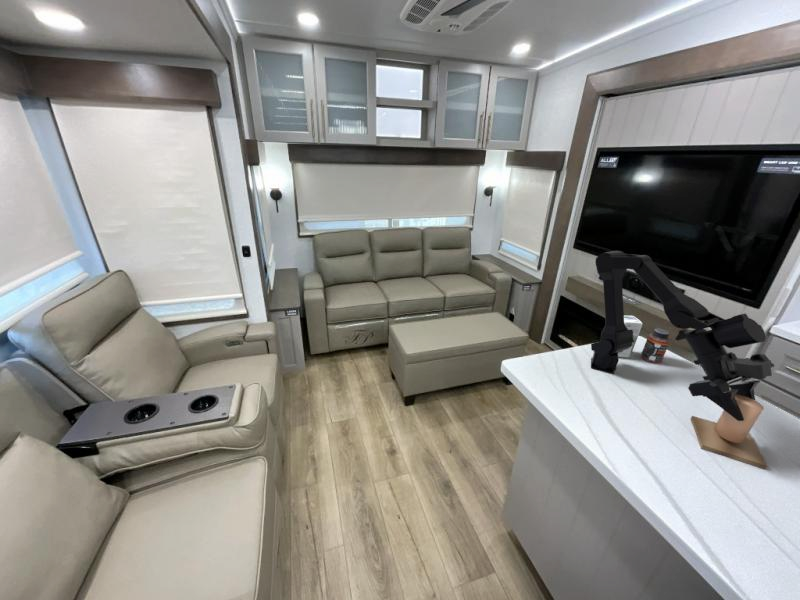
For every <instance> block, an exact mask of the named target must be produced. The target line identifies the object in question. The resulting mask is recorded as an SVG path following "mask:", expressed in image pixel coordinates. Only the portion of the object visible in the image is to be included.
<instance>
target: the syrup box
mask: <svg viewBox="0 0 800 600" xmlns="http://www.w3.org/2000/svg"><path fill="white" fill-rule="evenodd" d="M624 324H625V326H626V327H627V329H628V330H633V340H634V342H632V346H631V347H630V348H629V349H626V350H624V351H623V352H619V353H618V358H624V359H625V358H627V359H630V358H631V356H632V353H633V350H634V349H635V346H636V344H637V343H636V342H637V340H638V338H639V334H640V333H641V329H642V327H643V325H644V324H643V322H642V321H641V320H640V319H638V318H637V316H634V315H625V314H624Z"/></svg>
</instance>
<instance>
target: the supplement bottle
mask: <svg viewBox="0 0 800 600" xmlns="http://www.w3.org/2000/svg"><path fill="white" fill-rule="evenodd" d="M669 336H670V332H669V331H668V330H665V329H662V328H654V330H653V333H649V334H648V336H647V338H646V341H645V343H644V346H643V349H642V351H641V354H640V355H641V358H642V359H643V360H645V361H647V362H649V363H653V364H660V363H662V361H663V359H664V356H665V355H666V352H667V350H668V347H669V346H670V345H669V344H670V342H671V340H670V338H669Z"/></svg>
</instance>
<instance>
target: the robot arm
mask: <svg viewBox="0 0 800 600" xmlns="http://www.w3.org/2000/svg"><path fill="white" fill-rule="evenodd" d="M595 268H596V272H597V274H598V275H599V277H600V278H601V279H602V282H603V299H604V318H605V325H604V327H603V329H602V331H601V334H600V340H599V341H597V342H593V343H590V349H591V350H592V351H593V354H592V357H591V358H590V368H591V369H593V370H597V371H601V372H604V373H608V374H613V375H614V373H615V372H614V371H615V370H616V369H617V367H618V363H619V362H620V361H619V358H620V357H618V353H619V352H623V351H624V350H626V349H629V348H630V347H631V346H632V342H634V340H633V330H628V329H627V327H626V326H625V324H624V315H625V312H624V297H623V295H624V294H623V278H624V276H625V274H626V272H627V270H633V272H635V274H636V275H638V276H639V278H640V279H641V281H643V283H644V284H645V285H646V286H647V287H648V288H649V289H650V290H651V292H652V293H653V294H654V295H655V296H656V297H657V298H658V299H659V300H660V302H661V304H662V306H663V311H664V314H665V316H666V317H667V319H668V320H669V322H670V323H671V325H672V326H673V327H675V328H678V329H680V330H678V334H677V336H676V337H675V338H674V339H675V341H682V340H686V342H687V343H688V345H689V347H690V349H691V350H692V351H691V352H693V354H694V356H695V358H696V359H694V360H693V362H694V364H695V365H697V366H698V365H700V366H701V368H702V371H703V372H704V374H705V375H704V376H702V378H703V380H698V381H697V380H696V381H695V382H691V383H690V384H689V386H688V388H687V389H688V391H689V392H690V395H691V396H692V397H699V396H702V397H703V398H704V397H705V398H706V399H708V400H710V401H711V402H713V403H714V404H715V405H717V406H718V407H720V408H721V409H722V410H723V411H724V410H725V411H726V412H727V413H729V414H730V415H731V416H732V417H734V418H735V419H736V420H738V421H744V418H743V415H742V413H741V410H740V408H739V406H738V404H737V401H736V399H735V395H742V396H746V397H749V398H751V399H753V400H755V401H756V398H755V397H756V395H755V388H756V387H757V386H758V384H759V383H761V380H764V379H766V378H767V377H771V376H772V375H773V374H772V368H775V364H774V363H772V360H770V359H769V358H768V357H767V355H766V354H765V353H755V354H752V355H751V356H750V358H748V357H745V358H742V357H741V358H739V357H737V354H735V353H734V352H732V351H730V352H728V351H727V349H726V348H728V349H735V348H740V347H744V346H749V345H754V344H760V343H764V342H765V341H766V337H767V335H766V332H765V330H764V328H763V327H762V325H761V324H759V323H758V322H756V320H754V319H752V318H750V317H749V316H748V315H747V313H745V312H744V313H741V314H737V315H734V316H732V317H730V318H727V319H725V318H722V317H721V316H718V315H716V314H715V313H712V312H710V311H709V309H707V308H706V307H705V306H704V305H703V304H702V303H700V302H699V301H698V300H696V299H695V298H693V297H690V296H689V295H687V294H685V293H684V292H682V290H680V289H679V287H677V285H675V284H674V282H673V281H671V280H670V278H669V277H668V276H667V275H666V274H665V273H664V272H663V271H662V270H661V269H660V268H659V267H658V266H657V264H655V262H653V259H652V257H650V256H649V255H648V254H647V255H646V254H642V255H640V254H635V253H634V254H631V253H629V254H628V253H625V252H624V251H622V250H614V251H613V250H612V251H606V252H605V251H604V252H601V253H599V255H597V257H596V258H595ZM707 328H710V330H706V329H707ZM687 329H692V330H687ZM725 347H726V348H725ZM752 379H754V380H752ZM755 379H756V380H755Z"/></svg>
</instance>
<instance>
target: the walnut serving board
mask: <svg viewBox="0 0 800 600" xmlns="http://www.w3.org/2000/svg"><path fill="white" fill-rule="evenodd" d="M690 422H691V425H692V427H693V431H694V433H695V436H696V438H697V442H698V444H699V447H700V449H701V450H704V451H707V452H711V453H713V454H717V455H719V456H722V457H726V458H729V459H732V460H735V461H738V462H741V463H744V464H747V465H750V466H753V467H757V468H759V469H762V470H766V469H767V468H768V464H767V462H766V460H765V458H764V457H763V455H762V453H761V451H760V450H759V447H758V446H757V443H755V440H754V439H753V436H752V435H751V433H750V432H749V433H748V435H747V436H746V438H745V440H744V441H743V442H742V443H735V442H731V441H729V440H726V439H724V438H723V437H721V436H720V435H718V434H717V433H716V432H715V430H714V427H715V425H716V423H717V422H715V421H711V420H709V419H706V418H705V419H704V418H702V417H697V416H694V415H691V416H690Z"/></svg>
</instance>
